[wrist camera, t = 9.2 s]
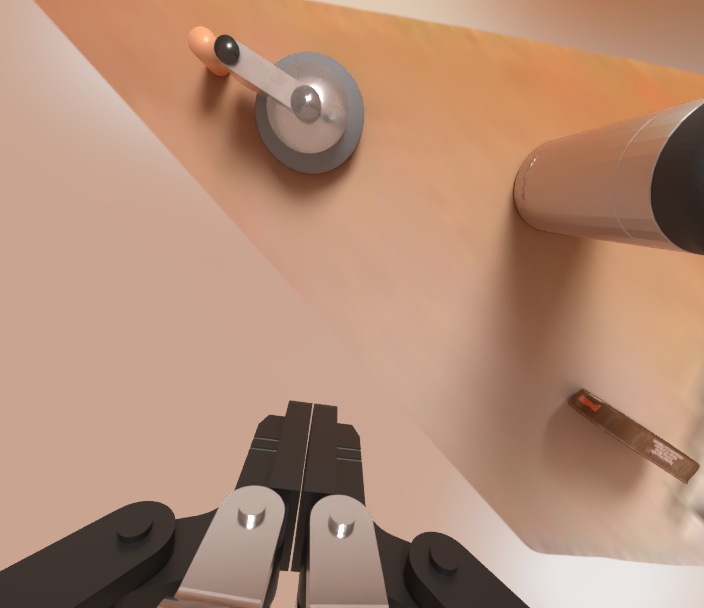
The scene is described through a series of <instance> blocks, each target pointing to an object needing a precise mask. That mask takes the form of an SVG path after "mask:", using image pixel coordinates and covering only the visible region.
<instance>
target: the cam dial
mask: <svg viewBox="0 0 704 608" xmlns="http://www.w3.org/2000/svg"><path fill="white" fill-rule="evenodd" d="M214 51H215V54H216V56H217V57H218V58H219V60H220V61H221V62H222V63H223V65H224V66H225V68H226V69H227V70H228V71H229V72H230V73H231V75H232V76H233V77H234V78H235V79H236V80H237V81H238V82H240V83H241V84H243V85H244V86H246V87H247V88H249V89H251V90H252V91H254V92H255V93H257V94H258V95H260V96H261V97H263V98H265V99H266V100H267V115H268V119H269V122H270V125H271V127H272V129H273V131H274V132H275V134H276V135H277V136H278V138H279V139H280V140H281V141H282V142H283V143H284V144H285V145H286V146H287V147H289V148H290V149H292V150H294V151H295V152H298V153H301V154H305V155H317V154H321V153H324V152H326V151H328V150H330V149H331V148H333V147H334V146H335V145H336V144H337V143H338V142H339V140H340V139H341V137H342V136H343V134H344V132H345V129H346V126H347V121H348V110H349V108H348V99H347V95H346V91H345V89H344V87H343V85H342V83H341V81H340V80H339V79H338V77H337V76H336V75H335V74H334V73H333V72H332V71H331V70H329V69H328V68H326V67H325V66H323V65H321V64H318V63H314V62H308V61H305V62H297V63H294V64H291V65H289V66H287V67H286V68H284V69H283V70H280V69H279V68H277V67H276V66H274V65H273V64H271V63H270V62H268V61H267V60H265V59H264V58H262V57H261V56H259V55H258V54H256V53H255V52H253V51H252V50H250V49H249V48H247V47H246V46H244V45H243V44H241V43H240V42H238V41H237V40H235V39H233V38H232V37H231V36H228V35H221V36H219V37H218V38H217V39H216V41H215V43H214Z"/></svg>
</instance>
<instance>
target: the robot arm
mask: <svg viewBox="0 0 704 608" xmlns="http://www.w3.org/2000/svg"><path fill="white" fill-rule="evenodd" d="M514 199H515V204H516V208H517V210H518V212H519V214H520V216H521V217H522V218H523V219H524V221H525V222H526V223H528V224H529V225H530V226H532V227H533V228H536V229H538V230H540V231H546V232H553V233H559V234H565V235H571V236H577V237H584V238H591V239H597V240H604V241H611V242H617V243H624V244H631V245H637V246H644V247H651V248H659V249H666V250H672V251H679V252H686V253H693V254H699V255H704V98H701V99H697V100H694V101H690V102H687V103H683V104H680V105H677V106H673V107H670V108H666V109H663V110H659V111H656V112H652V113H649V114H645V115H642V116H638V117H634V118H631V119H627V120H624V121H620V122H617V123H613V124H610V125H606V126H603V127H599V128H596V129H592V130H589V131H585V132H582V133H578V134H574V135H571V136H567V137H564V138H560V139H557V140H553V141H550V142H548V143H546V144H544V145H542V146H540V147H539V148H537V149H536V150H535V151H533V152H532V153H531V154H530V155H529V156H528V158H527V159H526V160H525V161H524V163H523V164H522V166H521V168H520V169H519V172H518V175H517V177H516V181H515V187H514ZM311 409H312V403H305V402H297V401H289V404H288V408H287V412H286V416H285V417H283V416H275V415H269V416H267V417H266V418H265V419H264V420H263V421H262V422H261V423H259V425H258V428H257V430H256V433H255V436H254V439H253V441H252V444H251V447H250V449H249V452H248V455H247V458H246V460H245V463H244V466H243V469H242V472H241V474H240V477H239V480H238V482H237V485H236V488H235V490H234V491H233V492H232V493H230V494H229V495H228V496H226V498H225V499H224V500H223V501H222V503H221V504H220V506H219V507H218V508H217V509H215V510H213V511H211V512H209V513H205V514H202V515H198V516H192V517H188V518H187V517H186V518H181V519H175V516H174V513H173V512H172V510H171V509H170V508H169V507H168V506H166V505H164V504H162V503H159V502H153V501H142V502H137V503H132V504H129V505H126V506H124V507H122V508H120V509H118V510H116V511H114V512H112V513H110V514H108V515H106V516H104V517H102V518H101V519H99V520H97V521H95V522H93V523H91V524H89V525H87V526H85V527H83V528H82V529H80V530H78V531H76V532H74V533H72V534H70V535H68V536H67V537H65V538H63V539H61V540H59V541H57V542H55V543H53V544H51V545H50V546H47V547H46V548H44V549H42V550H40V551H38V552H36V553H34V554H32V555H30V556H28V557H27V558H25V559H23V560H21V561H19V562H17V563H15V564H13V565H11V566H9V567H8V568H6V569H4V570H2V571H0V608H271V604H272V601H273V599H274V597H275V594H276V590H277V584H278V578H279V571H280V570H281V571H288V568H289V562H290V555H291V549H292V542H293V536H294V530H295V522H296V517H297V510H298V504H299V497H300V491H301V483H302V476H303V469H304V462H305V454H306V446H307V440H308V432H309V424H310V417H311ZM360 449H361V448H360V437H359V435H358V433H357V432H356V430H355V429H354V427H353V426H352V425H348V424H340V423H337V406H330V405H322V404H314V409H313V416H312V423H311V429H310V435H309V442H308V448H307V455H306V462H305V469H304V476H303V484H302V491H301V499H300V507H299V515H298V522H297V529H296V537H295V545H294V552H293V560H292V567H291V571H294V572H300V575H299V584H298V592H297V599H296V605H295V608H530V607H528V606H527V605H526V604H525V603H524V602H523V601H522V600H521V599H520V598H519V597H517V595H515V594H514V593H513V592H512V591H511V590H510V589H509V588H508V587H507V586H506V585H505V584H503V583H502V582H501V581H500V580H499V579H498V578H497V577H496V576H495V575H494V574H493V573H492V572H490V571H489V570H488V569H487V568H486V567H485V566H484V565H483V564H482V563H481V562H480V561H478V560H477V559H476V558H475V557H474V556H473V555H472V554H471V553H470V552H469V551H468V550H467V549H466V548H464V547H463V546H462V545H461V544H460V543H459V542H457V541H456V540H454V539H453V538H451V537H449V536H447V535H445V534H442V533H437V532H425V533H422V534H420V535H418V536H416V537H415V538H414V539H413V541H412V543H410V542H407V541H405V540H402V539H400V538H398V537H395V536H393V535H391V534H389V533H387V532H385V531H384V530H382V529H381V528H380V527H379V526H377V525H376V524H375V522H374V521H373V520H372V517H371V515H370V512H369V511H368V510H367V509H366V506H365V496H364V484H363V473H362V462H361V451H360Z"/></svg>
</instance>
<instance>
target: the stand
mask: <svg viewBox="0 0 704 608" xmlns="http://www.w3.org/2000/svg"><path fill="white" fill-rule="evenodd" d="M215 41H216V37H215V36H214V35H213V33H212V32H211V31H210V30H209V29H207V28H205V27H196V28H194V29H193V30H192V31H191V32H190V34H189V38H188V43H189V47H190V49H191V51H192V52H193V53H194V54H195V55H196V56H197V57H198V58H199V59H200V60H201V61H202V62H203V63H204V64H205V65H206V66H207V67H208V68H209V69H210V70H211V71H212V72H213V73H214V74H215V75H217V76H225V75H227V74H228V73H229V71H228V70H227V69H226V68H225V66H224V65H223V63H222V62H221V61H220V60H219V58H218V57H217V56H216V54H215V51H214V43H215ZM305 61H308V62H314V63H318V64H321V65H323V66H325V67H326V68H328V69H329V70H331V71H332V72H333V73H334V74H335V75H336V76H337V77H338V79H339V80H340V81H341V83H342V85H343V87H344V89H345V91H346V95H347V99H348V108H349V110H348V121H347V126H346V129H345V132H344V134H343V136H342V137H341V139H340V140H339V142H338V143H337V144H336V145H335V146H334V147H333V148H331V149H330V150H328V151H326V152H324V153H321V154H317V155H305V154H301V153H298V152H295V151H294V150H292V149H290V148H289V147H287V146H286V145H285V144H284V143H283V142H282V141H281V140H280V139H279V138H278V136H277V135H276V134H275V132H274V131H273V129H272V127H271V125H270V122H269V119H268V115H267V100H266V99H265V98H263V97H261V96H260V95H258V94H257V96H256V103H255V117H256V123H257V128H258V131H259V134H260V136H261V138H262V140H263V142H264V144H265V145H266V147H267V149H268V150H269V151H270V152H271V154H272V155H273V156H274V157H275V158H277V159H278V160H279V161H280V162H282V163H283V164H284V165H286V166H288V167H289V168H291V169H293V170H296V171H298V172H302V173H308V174H319V173H324V172H328V171H331V170H333V169H335V168H337V167H338V166H340V165H341V164H342V163H344V162H345V161H346V160H347V159H348V158H349V157H350V155H351V154H352V153H353V151H354V150H355V148H356V146H357V144H358V142H359V139H360V136H361V133H362V129H363V123H364V106H363V100H362V96H361V93H360V90H359V88H358V86H357V84H356V82H355V80H354V78H353V77H352V76H351V74H350V73H349V72H348V71H347V70H346V69H345V68H344V67H343V66H342V65H341V64H340V63H339V62H337V61H335V60H334V59H332V58H330V57H328V56H326V55H323V54H319V53H313V52H301V53H296V54H293V55H290V56H287V57H285V58H283V59H281V60H280V61H279V62H277V63H276V64H275V65H274V66H276V67H277V68H279V69H280V70H283V69H284V68H286V67H287V66H289V65H291V64H294V63H297V62H305Z"/></svg>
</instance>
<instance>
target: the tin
mask: <svg viewBox="0 0 704 608" xmlns="http://www.w3.org/2000/svg"><path fill="white" fill-rule="evenodd" d="M568 404H569V405H570V406H571V407H572V408H574V409H575V410H576V411H578V412H579V413H580V414H582V415H583V416H584V417H586V418H587V419H589V420H590V421H591V422H593V423H594V424H595V425H597V426H598V427H600V428H601V429H602V430H604V431H605V432H607V433H608V434H610V435H611V436H613V437H614V438H616V439H617V440H619V441H620V442H622V443H623V444H625V445H626V446H628V447H629V448H631V449H632V450H634V451H635V452H637V453H638V454H640V455H642V456H643V457H645V458H646V459H648V460H649V461H651V462H653V463H654V464H656V465H657V466H659V467H660V468H662V469H663V470H665V471H666V472H668V473H670V474H671V475H673V476H674V477H676V478H677V479H679V480H680V481H682V482H684V483H686V484H687V483H688V480H689V479H690V478H691V477H692V476H693V475H694V474H695V473H696V472H697V470H698V469H699V467H700V466H699V464H698V463H697V462H695V461H694V460H693V459H691V458H690V457H688V456H687V455H685V454H684V453H682V452H681V451H679V450H678V449H676V448H675V447H673V446H672V445H671V444H669V443H668V442H666V441H664V440H663V439H661V438H660V437H658V436H657V435H655V434H654V433H652V432H650V431H649V430H647V429H646V428H644V427H643V426H641V425H640V424H638V423H636V422H635V421H633V420H632V419H630V418H629V417H627V416H626V415H624V414H623V413H621V412H619V411H618V410H616V409H614V408H613V407H611V406H610V405H608V404H607V403H605V402H604V401H602V400H601V399H599V398H597V397H596V396H594V395H593V394H591V393H590V392H588V391H587V390H585V389H581V390H580V391H579V392H578V393H577V394H576V395H575V396H574V398H573V399H572V400H571V401H570V402H568Z"/></svg>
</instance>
